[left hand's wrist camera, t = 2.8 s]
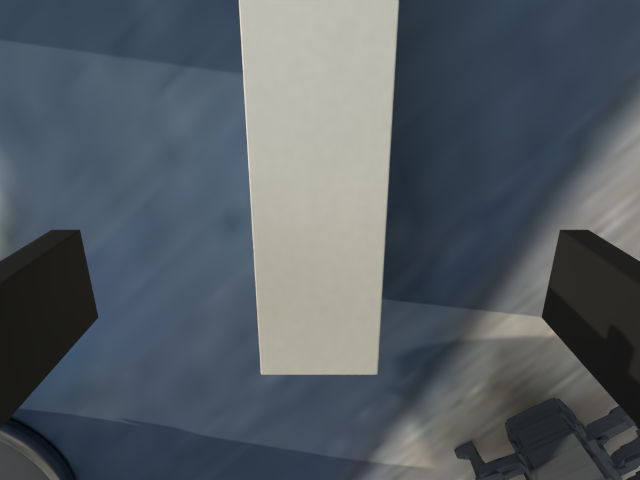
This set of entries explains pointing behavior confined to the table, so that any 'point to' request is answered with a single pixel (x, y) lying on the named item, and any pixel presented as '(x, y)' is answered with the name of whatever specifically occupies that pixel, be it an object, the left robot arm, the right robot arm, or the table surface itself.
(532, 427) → the toy
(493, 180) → the table surface
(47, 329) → the left robot arm
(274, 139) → the bar
